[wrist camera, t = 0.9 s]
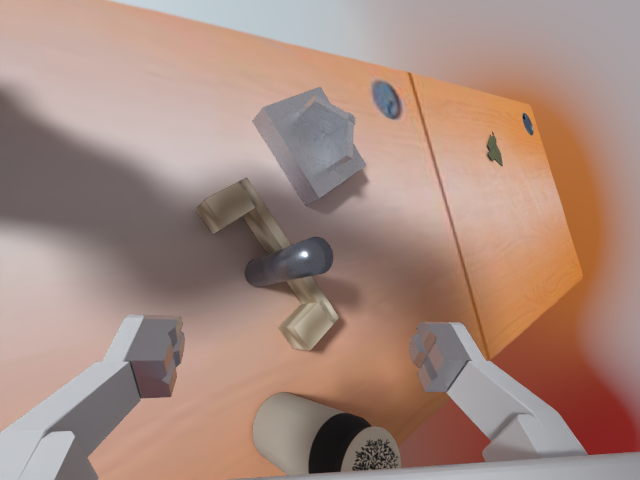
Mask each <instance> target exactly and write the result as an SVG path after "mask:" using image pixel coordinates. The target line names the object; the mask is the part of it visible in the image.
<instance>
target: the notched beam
mask: <svg viewBox="0 0 640 480" xmlns="http://www.w3.org/2000/svg"><path fill="white" fill-rule="evenodd" d="M196 212H197V213H198V214H199V216H200V217H201V219H202V220H203V221H204V223H205V224H206V226H207V227H208V229H209V230H210V231H211V233H212V234H215V233H217V232H218V231H220V230H221V229H223V228H225V227H226V226H228V225H230V224H231V223H233V222H234V221H236V220H238V219H239V218H241V217H243V218H244V220H245V221H246V223H247V224H248V226H249V227H250V228H251V230H252V231H253V233H254V234H255V236H256V237H257V239H258V240H259V242H260V243H261V245H262V246H263V248H264V249H265V251H266V252H267V254H271V253H273V252H276V251H278V250H281V249H283V248H286V247H289V246H291V244H290V242H289V241H288V239H287V238H286V236H285V234H284V233H283V231H282V230H281V228H280V227H279V225H278V224H277V222H276V221H275V219H274V218H273V216H272V215H271V213H270V212H269V210H268V209H267V207H266V206H265V204H264V203H263V201H262V200H261V198H260V197H259V195H258V193H257V192H256V190H255V189H254V187H253V186H252V184H251V183H250V181H249V180H248V178H245V179H243V180H241V181H239V182H237V183H235V184H233V185H231V186H229V187H228V188H226V189H224V190H222V191H220V192H218V193H216V194H214V195H212V196H210V197H208V198H207V199H205V200H204V201H203V202H202V203H201V204H200V205H199V206H198V207H197V208H196ZM286 282H287V283H288V285H289V286H290V288H291V289H292V290H293V292H294V293H295V295H296V296H297V298H298V299H299V301H300V302H301V305H300V306H299V307H298V308H297V309H296V310H295V311H294V312H293V313H292V314H291V315H290V316H289V317H288V318H287V319H286V320H285V321H284V322H283V323H282V324H281V325H280V326H279V327H278V328H279V329H280V331H281V332H282V334H283V335H284V336H285V338H286V339H287V341H288V342H289V343H290V345H291V346H292V348H293V349H301V350H311V349H312V348H313V347H314V346H315V345H316V343H317V342H318V341H319V340H320V339H321V338H322V337H323V335H324V334H325V333H326V332H327V331H328V330H329V329H330V327H331V326H332V325H333V324H334V323H335V322H336V321H337V319H338V318H339V317H338V315H337V313H336V312H335V310H334V309H333V307H332V306H331V304H330V303H329V301H328V300H327V298H326V297H325V295H324V294H323V292H322V291H321V289H320V288H319V286H318V285H317V283H316V282H315V280H314V279H313V277H312V276H308V277H304V278H299V279H295V280H290V281H286Z"/></svg>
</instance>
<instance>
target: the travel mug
mask: <svg viewBox="0 0 640 480" xmlns="http://www.w3.org/2000/svg"><path fill="white" fill-rule="evenodd" d="M252 434H253V441H254V445H255V447H256V449H257V451H258V452H259V453H260V454H261V455H262V456H263V457H264V458H266V459H267V460H268V461H270V462H271V463H272V464H274V465H275V466H276V467H278V468H279V469H280V470H282V471H283V472H284V473H286V474H287V475H301V474H316V473H331V472H346V471H361V470H376V469H391V468H401V458H400V452H399V448H398V446H397V443H396V441H395V439H394V438H393V436H392V435H391V434H390V433H389V432H388V431H387V430H386V429H384V428H382V427H378V426H371V425H370V424H369V423H368V422H367V421H366V420H365V419H363V418H361V417H358V416H355V415H352V414H349V413H346V412H343V411H340V410H338V409H335V408H332V407H329V406H326V405H323V404H320V403H317V402H314V401H311V400H308V399H305V398H302V397H299V396H297V395H294V394H291V393H287V392H281V393H277V394H274V395H273V396H271V397H269V398H268V399H267V400H266V401H265V402H264V403H263V404H262V405H261V407H260V408H259V410H258V412H257V414H256V416H255V419H254V423H253V432H252Z"/></svg>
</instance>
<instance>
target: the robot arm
mask: <svg viewBox="0 0 640 480" xmlns="http://www.w3.org/2000/svg"><path fill="white" fill-rule="evenodd" d="M182 325H183V322H182V317H177V316H156V315H128V316H127V317H126V318H125V319H124V321H123V322H122V324H121V326H120V328H119V330H118V332H117V334H116V336H115V338H114V340H113V342H112V344H111V346H110V348H109V349H108V351H107V353H106V355H105V357H104V359H103V361H101V362H95V363H94V364H93V365H91V366H90V367H89V368H87V369H86V370H85V371H83V372H82V373H80V374H79V375H78V376H76V377H75V378H74V379H72V380H71V381H70V382H68V383H67V384H66V385H64V386H63V387H61V388H60V389H59V390H57V391H56V392H55V393H53V394H52V395H51V396H49V397H48V398H47V399H45V400H44V401H42V402H41V403H40V404H38V405H37V406H36V407H34V408H33V409H32V410H30V411H29V412H28V413H26V414H25V415H23V416H22V417H21V418H19V419H18V420H17V421H15V422H14V423H13V424H11V425H10V426H8V427H7V428H6V429H4V430H3V431H2V432H1V433H0V480H98V476H97V474H96V472H95V470H94V469H93V467H92V465H91V463H90V462H89V460H88V458H87V457H88V456H89V455H90V454H91V453H92V452H93V451H94V450H95V449H96V448H97V447H98V445H99V444H100V443H101V442H102V441H103V440H104V439H105V438H106V437H107V436H108V435H109V434H110V433H111V431H112V430H113V429H114V428H115V427H116V426H117V425H118V424H119V423H120V422H121V421H122V420H123V419H124V417H125V416H126V415H127V414H128V413H129V412H130V411H131V410H132V409H133V408H134V407H135V406H136V405H137V404H138V402H139V401H140V398H161V397H171V395H172V392H173V388H174V385H175V382H176V378H177V373H176V367H177V366H178V365H179V364H180V363H181V360H182V357H183V351H184V341H185V338H184V333H183V332H182V331H181V329H182ZM416 329H417V331H418V333H417V334H416V335H414V336H413V337H412V339H411V341H410V346H409V351H410V356H411V359H412V362H413V363H414V364H415V365H416V366H417V367H418V368H419V370H418V377H419V379H420V382H421V384H422V387H423V389H424V392H447V394H448V395H449V396H450V398H451V399H452V400H453V401H454V402H455V403H456V404H457V405H458V406H459V407H460V408H461V409H462V410H463V411H464V412H465V414H466V415H467V416H468V417H469V418H470V419H471V420H472V421H473V422H474V423H475V424H476V425H477V427H478V428H479V429H480V430H481V431H482V432H483V433H484V434H485V435H486V436H487V437H488V438H489V439H490V440H491V443H490V444H489V445H488V446H487V447H486V448H485V449H484V450H483V452H482V455H483V457H484V459H485V461H486V462H481V463H465V464H451V465H436V466H421V467H407V468H391V469H376V470H361V471H346V472H331V473H316V474H301V475H286V476H271V477H256V478H241V479H227V480H640V452H631V453H615V454H600V455H588V454H587V452H586V451H585V450H584V448H583V447H582V445H581V444H580V443H579V441H578V440H577V438H576V437H575V436H574V434H573V433H572V431H571V430H570V429H569V427H568V426H567V424H566V423H565V422H564V420H563V419H562V418H561V416H560V415H559V413H558V412H557V411H556V410H554V409H553V408H551V407H550V406H549V405H548V404H546V403H545V402H544V401H542V400H541V399H540V398H538V397H537V396H536V395H534V394H533V393H532V392H530V391H529V390H528V389H526V388H525V387H524V386H522V385H521V384H520V383H518V382H517V381H516V380H514V379H513V378H512V377H510V376H509V375H508V374H506V373H505V372H504V371H502V370H501V369H500V368H498V367H497V366H496V365H495V364H493V363H492V362H491V361H486V360H485V358H484V357H483V355H482V353H481V352H480V350H479V349H478V347H477V345H476V344H475V342H474V340H473V339H472V337H471V336H470V334H469V332H468V331H467V329H466V328H465V326H464V325H463V324H462V323H461V322H421V323H419V324H418V326H417V328H416Z"/></svg>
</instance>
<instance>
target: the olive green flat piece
mask: <svg viewBox="0 0 640 480" xmlns="http://www.w3.org/2000/svg"><path fill="white" fill-rule="evenodd" d="M492 134H493V137H491V135H490V139H489V142H488V147H489V149H490V151H489V153H488V155H489V157H490V158H491V159H492V160H494V158H495V159H496V160H497V161H498V162H499V164H500V165H501V166H502V158H501V153H500V151H499V149H498V147H497V145H496V138H495V137H494V133H493V131H492Z"/></svg>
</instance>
